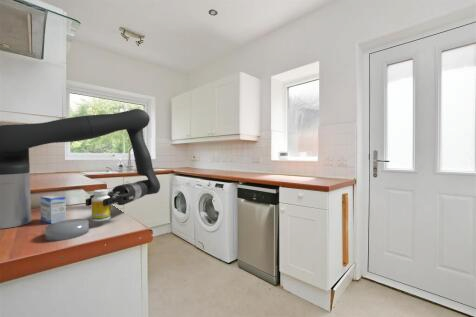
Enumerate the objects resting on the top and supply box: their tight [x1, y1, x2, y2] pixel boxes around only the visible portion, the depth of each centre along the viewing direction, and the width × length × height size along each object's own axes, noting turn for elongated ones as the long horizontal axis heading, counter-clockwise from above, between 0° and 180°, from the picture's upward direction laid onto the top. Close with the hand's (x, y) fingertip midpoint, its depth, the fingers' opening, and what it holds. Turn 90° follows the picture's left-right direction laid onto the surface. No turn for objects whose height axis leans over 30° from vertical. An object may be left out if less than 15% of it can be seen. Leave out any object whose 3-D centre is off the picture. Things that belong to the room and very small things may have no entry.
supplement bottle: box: [90, 188, 112, 222], centre depth 73 cm, size 5×5×10 cm
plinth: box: [44, 218, 90, 242], centre depth 64 cm, size 10×10×3 cm
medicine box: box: [40, 195, 67, 224], centre depth 78 cm, size 8×4×9 cm, turn 62°
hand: (95, 202), depth 70 cm, fingers closed on supplement bottle, 5 cm apart
